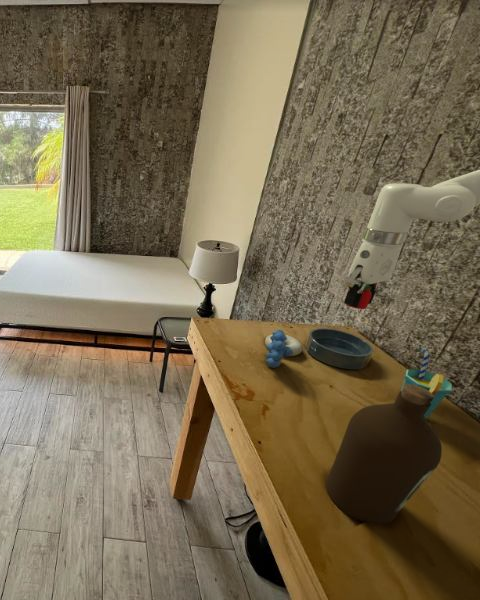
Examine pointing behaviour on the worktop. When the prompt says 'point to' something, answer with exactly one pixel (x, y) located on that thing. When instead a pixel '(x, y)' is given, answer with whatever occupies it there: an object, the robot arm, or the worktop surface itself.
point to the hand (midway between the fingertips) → (357, 303)
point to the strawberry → (364, 297)
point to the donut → (288, 344)
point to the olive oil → (384, 457)
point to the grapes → (277, 349)
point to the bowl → (338, 348)
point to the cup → (428, 382)
